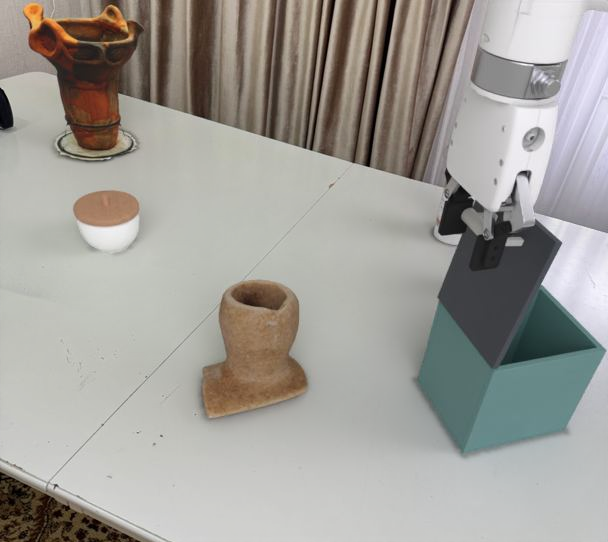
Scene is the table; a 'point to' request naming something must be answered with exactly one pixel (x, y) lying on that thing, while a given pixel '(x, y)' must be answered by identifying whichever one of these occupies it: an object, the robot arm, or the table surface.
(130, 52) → the decorative vase
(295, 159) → the table surface
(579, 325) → the teal storage box
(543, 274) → the dark gray box lid
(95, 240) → the trinket box
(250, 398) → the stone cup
